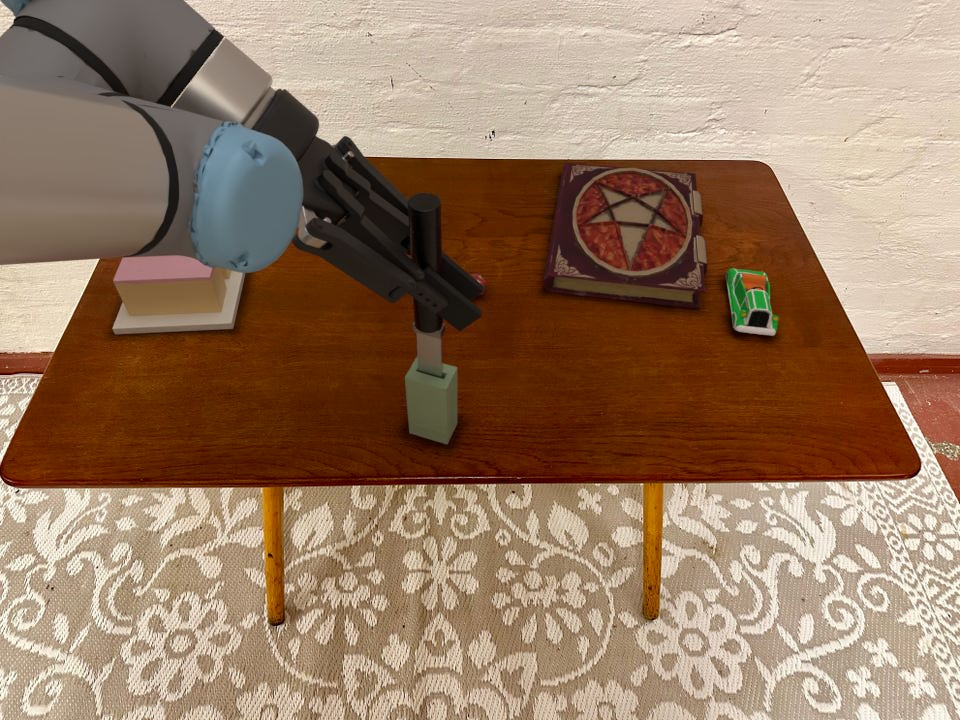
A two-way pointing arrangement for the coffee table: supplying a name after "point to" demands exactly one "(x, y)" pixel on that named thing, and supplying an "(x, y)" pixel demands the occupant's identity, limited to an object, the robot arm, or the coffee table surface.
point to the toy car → (750, 302)
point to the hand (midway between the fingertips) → (471, 308)
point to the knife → (425, 254)
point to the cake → (175, 295)
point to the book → (628, 236)
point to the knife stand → (432, 403)
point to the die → (479, 280)
